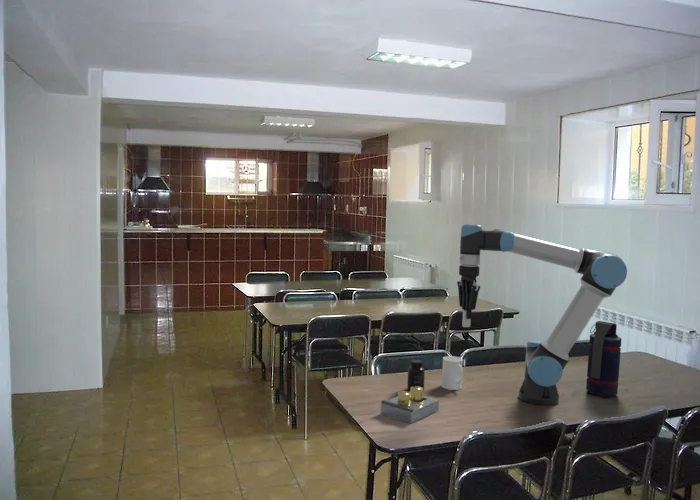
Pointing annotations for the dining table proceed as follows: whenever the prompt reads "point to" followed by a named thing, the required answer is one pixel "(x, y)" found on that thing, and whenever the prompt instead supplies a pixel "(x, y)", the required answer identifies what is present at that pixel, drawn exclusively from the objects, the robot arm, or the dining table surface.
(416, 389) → the cylinder
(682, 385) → the dining table surface
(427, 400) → the block
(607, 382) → the grenade
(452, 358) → the mug
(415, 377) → the supplement bottle
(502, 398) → the dining table surface
